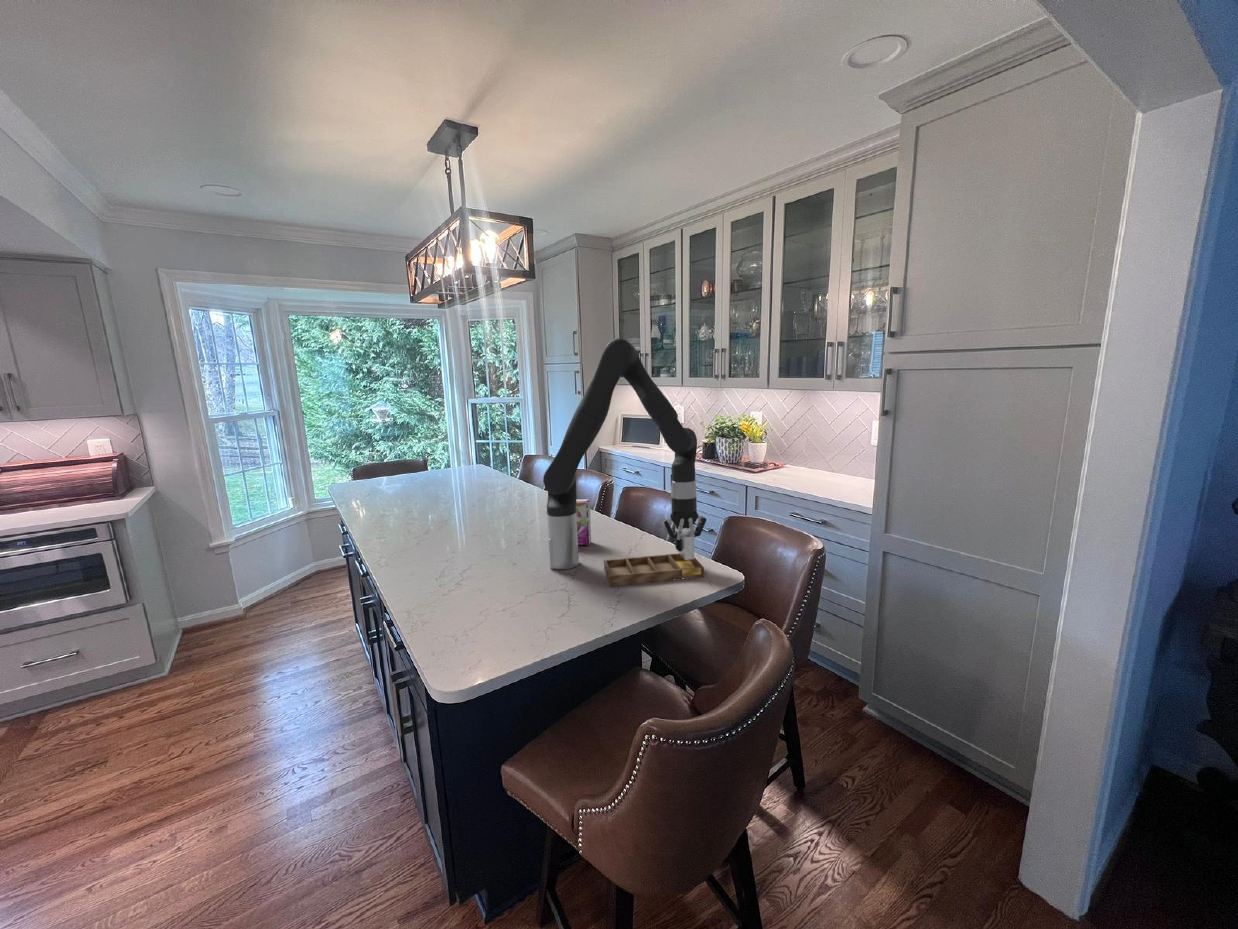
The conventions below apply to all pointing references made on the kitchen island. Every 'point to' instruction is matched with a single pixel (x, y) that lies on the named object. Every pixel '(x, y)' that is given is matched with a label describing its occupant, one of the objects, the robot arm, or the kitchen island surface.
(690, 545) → the panel
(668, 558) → the rack
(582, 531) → the candy bar box
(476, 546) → the kitchen island surface
